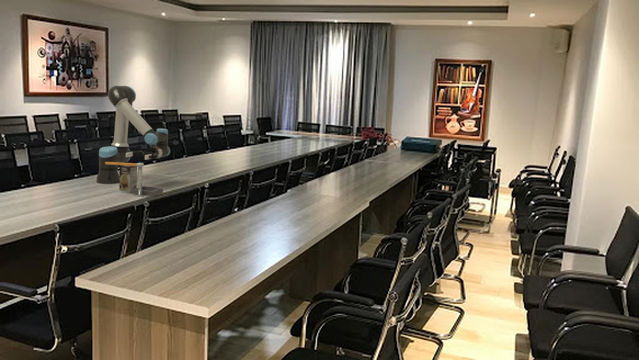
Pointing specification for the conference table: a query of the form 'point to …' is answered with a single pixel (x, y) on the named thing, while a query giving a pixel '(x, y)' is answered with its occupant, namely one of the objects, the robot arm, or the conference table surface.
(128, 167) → the coffee box
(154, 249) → the conference table surface
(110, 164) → the clip bar
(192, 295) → the conference table surface
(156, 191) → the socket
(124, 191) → the pad
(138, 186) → the post
